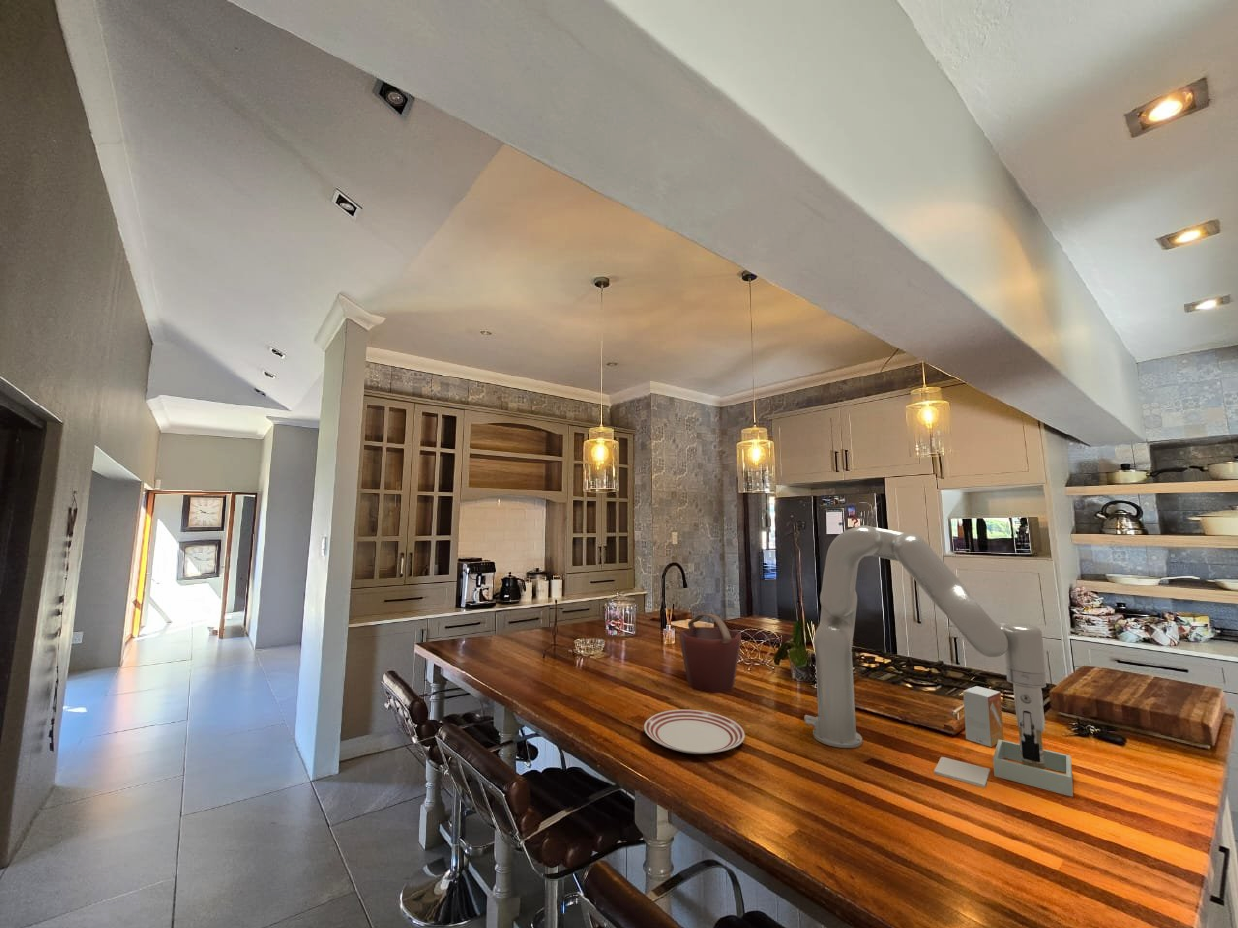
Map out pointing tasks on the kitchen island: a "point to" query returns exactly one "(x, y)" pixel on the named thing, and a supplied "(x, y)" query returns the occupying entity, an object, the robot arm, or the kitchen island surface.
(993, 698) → the small box
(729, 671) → the bucket
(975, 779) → the tile
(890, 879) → the kitchen island surface
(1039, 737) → the sprinkles bottle
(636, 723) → the kitchen island surface
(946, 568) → the robot arm
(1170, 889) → the kitchen island surface
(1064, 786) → the tray
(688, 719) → the dinner plate
